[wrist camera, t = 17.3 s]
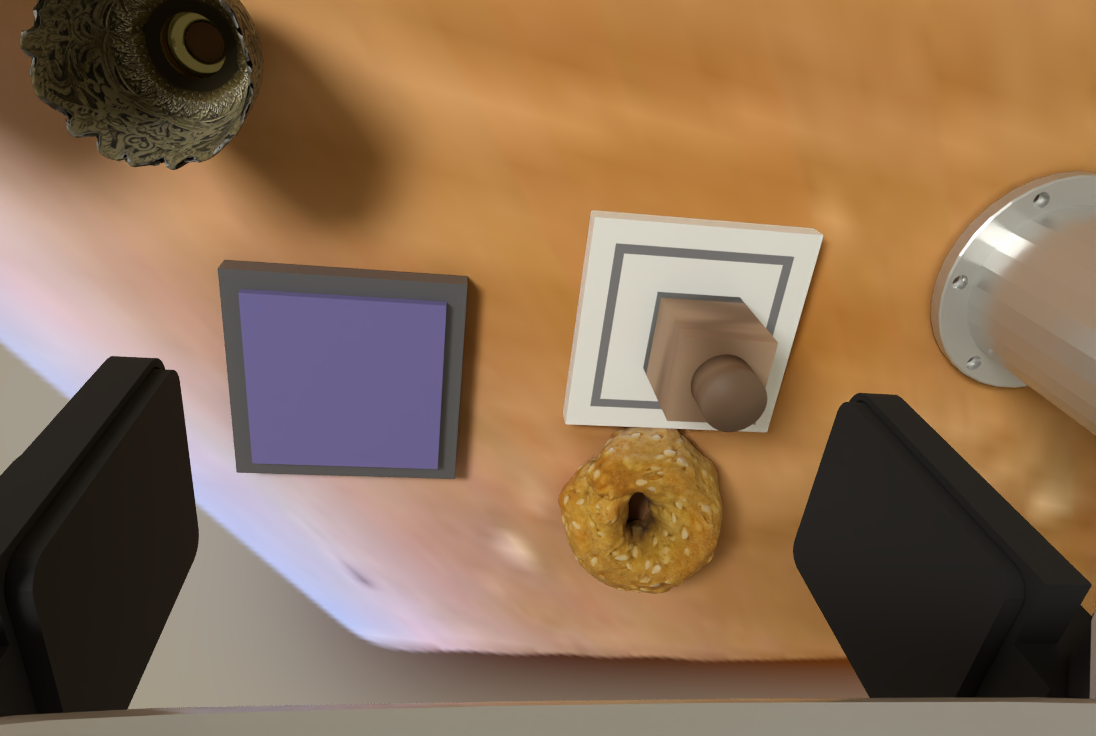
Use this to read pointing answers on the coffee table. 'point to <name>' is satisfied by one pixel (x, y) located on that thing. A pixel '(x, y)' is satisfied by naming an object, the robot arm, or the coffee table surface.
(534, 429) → the coffee table surface
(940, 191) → the coffee table surface
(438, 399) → the ink pad
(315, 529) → the coffee table surface
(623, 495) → the bagel
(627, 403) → the board
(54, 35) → the cup
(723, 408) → the stamp
